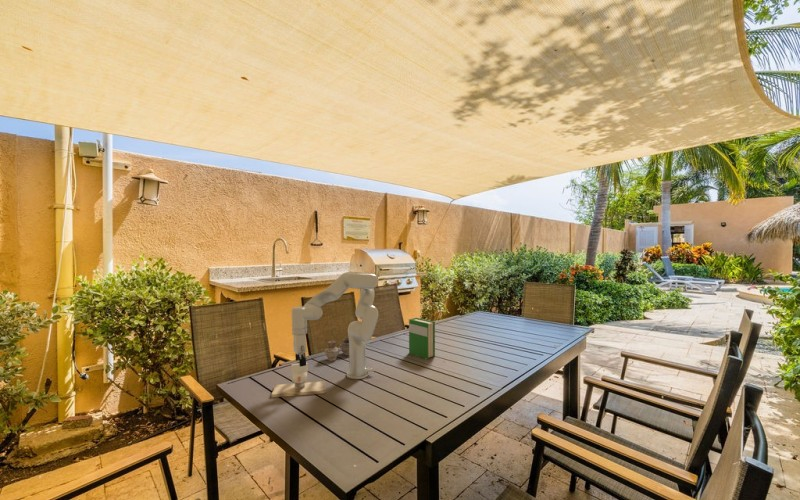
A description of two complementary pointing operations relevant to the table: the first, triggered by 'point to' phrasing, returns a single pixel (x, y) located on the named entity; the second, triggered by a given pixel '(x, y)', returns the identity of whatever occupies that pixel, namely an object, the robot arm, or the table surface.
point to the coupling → (299, 373)
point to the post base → (298, 389)
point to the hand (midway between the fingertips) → (300, 362)
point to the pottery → (337, 349)
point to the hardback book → (422, 337)
